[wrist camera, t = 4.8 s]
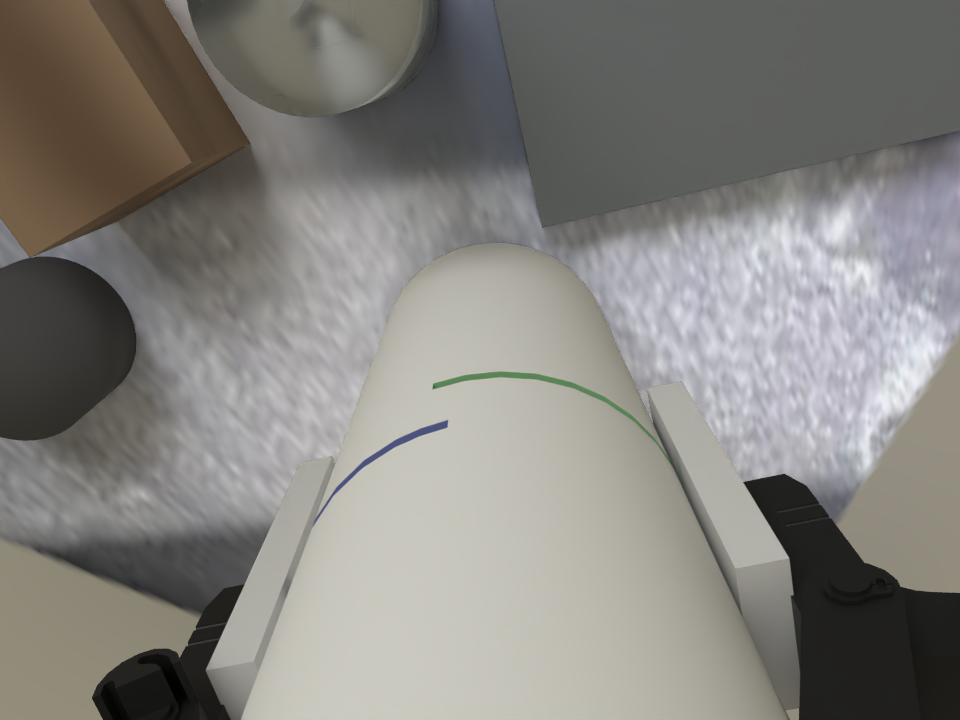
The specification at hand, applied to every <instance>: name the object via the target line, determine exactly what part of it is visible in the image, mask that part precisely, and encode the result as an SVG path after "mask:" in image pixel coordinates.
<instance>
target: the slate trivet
mask: <svg viewBox="0 0 960 720" xmlns="http://www.w3.org/2000/svg"><path fill="white" fill-rule="evenodd" d="M493 1H494V6H495V11H496V15H497V20H498V25H499V30H500V34H501V39H502V44H503V48H504V53H505V58H506V63H507V67H508V72H509V77H510V81H511V86H512V91H513V95H514V100H515V105H516V110H517V114H518V119H519V124H520V128H521V133H522V138H523V143H524V147H525V152H526V157H527V161H528V166H529V171H530V176H531V180H532V185H533V190H534V194H535V199H536V204H537V209H538V213H539V218H540V222H541V225H542V228H543V227H547V226H551V225H556V224H560V223H564V222H569V221H573V220H577V219H581V218H586V217H590V216H594V215H599V214H603V213H607V212H612V211H616V210H620V209H625V208H629V207H633V206H637V205H642V204H646V203H650V202H655V201H659V200H663V199H668V198H672V197H676V196H680V195H685V194H689V193H693V192H698V191H702V190H706V189H711V188H715V187H719V186H724V185H728V184H732V183H736V182H741V181H745V180H749V179H754V178H758V177H762V176H767V175H771V174H775V173H779V172H784V171H788V170H792V169H797V168H801V167H805V166H810V165H814V164H818V163H822V162H827V161H831V160H835V159H840V158H844V157H848V156H853V155H857V154H861V153H866V152H870V151H874V150H878V149H883V148H887V147H891V146H896V145H900V144H904V143H909V142H913V141H917V140H921V139H926V138H930V137H934V136H939V135H943V134H947V133H952V132H956V131H960V0H493Z"/></svg>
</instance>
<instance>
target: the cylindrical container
mask: <svg viewBox="0 0 960 720" xmlns="http://www.w3.org/2000/svg"><path fill="white" fill-rule="evenodd" d="M241 720H790V719H789V717H788V715H787V713H786V711H785V709H784V706H783V704H782V702H781V700H780V698H779V696H778V693H777V691H776V689H775V687H774V685H773V683H772V680H771V678H770V676H769V674H768V672H767V670H766V667H765V665H764V663H763V661H762V659H761V657H760V654H759V652H758V650H757V648H756V646H755V644H754V641H753V639H752V637H751V635H750V633H749V631H748V628H747V626H746V624H745V622H744V620H743V618H742V615H741V613H740V611H739V609H738V607H737V605H736V603H735V600H734V598H733V596H732V594H731V592H730V590H729V587H728V585H727V583H726V581H725V579H724V577H723V574H722V572H721V570H720V568H719V566H718V564H717V561H716V559H715V557H714V555H713V553H712V551H711V548H710V546H709V544H708V542H707V540H706V538H705V535H704V533H703V531H702V529H701V527H700V525H699V522H698V520H697V518H696V516H695V514H694V512H693V509H692V507H691V505H690V503H689V501H688V499H687V496H686V494H685V492H684V490H683V488H682V486H681V483H680V481H679V479H678V477H677V475H676V473H675V470H674V468H673V467H672V464H671V462H670V460H669V458H668V455H667V453H666V451H665V449H664V447H663V445H662V442H661V440H660V438H659V436H658V434H657V432H656V429H655V427H654V425H653V423H652V421H651V419H650V416H649V414H648V412H647V410H646V408H645V406H644V403H643V401H642V399H641V397H640V395H639V393H638V390H637V388H636V386H635V384H634V382H633V380H632V377H631V375H630V373H629V371H628V369H627V367H626V364H625V362H624V360H623V358H622V356H621V354H620V351H619V349H618V347H617V345H616V343H615V341H614V338H613V336H612V334H611V332H610V330H609V328H608V325H607V323H606V321H605V319H604V317H603V315H602V312H601V310H600V308H599V306H598V304H597V302H596V300H595V298H594V296H593V295H592V294H591V292H590V291H589V289H588V288H587V286H586V285H585V283H584V282H583V281H582V280H581V279H580V278H579V277H578V276H577V275H576V274H575V273H574V272H573V271H572V270H571V269H570V268H569V267H567V266H566V265H564V264H563V263H561V262H560V261H558V260H556V259H555V258H553V257H552V256H550V255H548V254H546V253H543V252H540V251H538V250H535V249H533V248H530V247H527V246H522V245H516V244H509V243H480V244H475V245H471V246H467V247H463V248H459V249H456V250H454V251H452V252H449V253H447V254H445V255H443V256H441V257H438V258H437V259H435V260H434V261H433V262H431V263H430V264H428V265H427V266H425V267H424V268H423V269H421V270H420V271H419V272H418V273H417V274H416V275H415V276H414V277H413V278H412V279H411V280H410V282H409V283H408V284H407V285H406V286H405V288H404V289H403V291H402V292H401V294H400V295H399V297H398V299H397V300H396V302H395V303H394V306H393V308H392V311H391V314H390V316H389V319H388V322H387V324H386V327H385V330H384V332H383V335H382V338H381V340H380V343H379V346H378V348H377V351H376V354H375V356H374V359H373V362H372V364H371V367H370V370H369V372H368V375H367V378H366V380H365V383H364V386H363V388H362V391H361V394H360V397H359V399H358V402H357V405H356V408H355V410H354V413H353V416H352V419H351V421H350V424H349V427H348V430H347V433H346V435H345V438H344V441H343V444H342V446H341V449H340V452H339V455H338V457H337V460H336V463H335V466H334V469H333V471H332V474H331V477H330V480H329V482H328V485H327V488H326V491H325V493H324V496H323V499H322V502H321V505H320V507H319V510H318V513H317V516H316V518H315V521H314V524H313V527H312V529H311V532H310V535H309V537H308V540H307V543H306V546H305V548H304V551H303V554H302V556H301V559H300V562H299V564H298V567H297V570H296V572H295V575H294V578H293V580H292V583H291V586H290V589H289V591H288V594H287V597H286V599H285V602H284V605H283V607H282V610H281V613H280V615H279V618H278V621H277V623H276V626H275V629H274V632H273V634H272V637H271V640H270V642H269V645H268V648H267V650H266V653H265V656H264V658H263V661H262V664H261V666H260V669H259V672H258V675H257V677H256V680H255V683H254V685H253V688H252V691H251V693H250V696H249V699H248V701H247V704H246V707H245V709H244V712H243V715H242V718H241Z"/></svg>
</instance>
